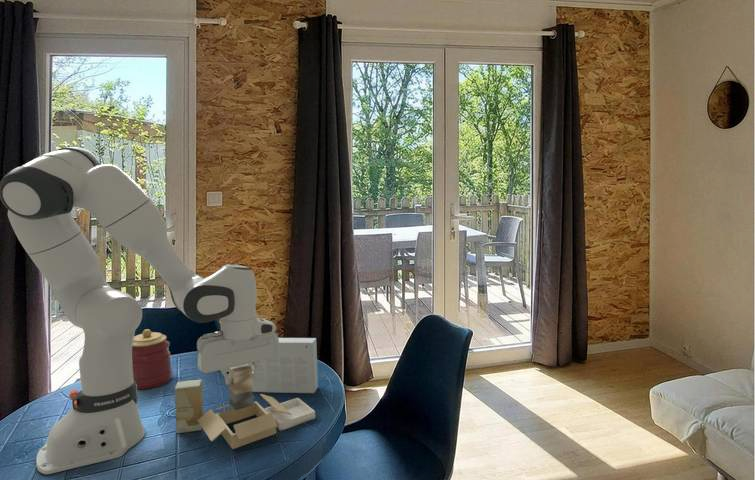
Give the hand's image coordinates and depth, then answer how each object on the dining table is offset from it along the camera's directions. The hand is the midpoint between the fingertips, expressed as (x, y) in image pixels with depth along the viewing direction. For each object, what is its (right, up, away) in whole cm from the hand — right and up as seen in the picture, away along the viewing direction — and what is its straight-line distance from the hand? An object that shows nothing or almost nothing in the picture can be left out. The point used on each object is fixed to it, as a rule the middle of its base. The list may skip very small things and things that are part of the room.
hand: (240, 380), depth 113 cm
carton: (+1, -13, +2) cm, 13 cm away
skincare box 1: (-14, -14, +3) cm, 20 cm away
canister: (-40, -11, +32) cm, 52 cm away
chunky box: (0, -6, +1) cm, 6 cm away
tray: (+11, -12, +8) cm, 18 cm away
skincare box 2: (+6, -11, +25) cm, 28 cm away
